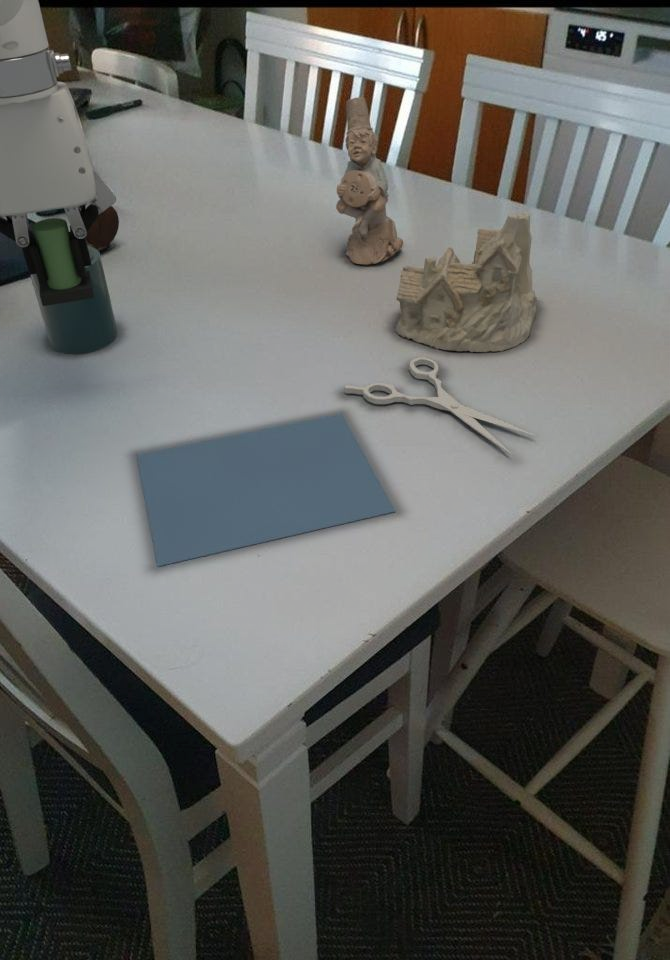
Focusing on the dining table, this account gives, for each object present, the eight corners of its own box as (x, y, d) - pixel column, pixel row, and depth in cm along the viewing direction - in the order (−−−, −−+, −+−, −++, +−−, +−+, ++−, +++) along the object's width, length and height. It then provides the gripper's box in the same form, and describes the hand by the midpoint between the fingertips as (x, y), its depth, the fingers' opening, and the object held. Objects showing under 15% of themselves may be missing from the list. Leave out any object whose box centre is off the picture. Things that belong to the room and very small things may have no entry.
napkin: (157, 567, 67) (157, 566, 67) (136, 455, 79) (136, 454, 79) (395, 512, 71) (395, 511, 71) (341, 414, 83) (341, 413, 83)
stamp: (42, 306, 80) (22, 236, 75) (42, 289, 83) (22, 220, 78) (94, 298, 81) (77, 228, 76) (91, 281, 84) (75, 213, 79)
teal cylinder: (51, 359, 94) (27, 278, 87) (49, 327, 100) (26, 249, 93) (120, 347, 96) (102, 266, 89) (114, 316, 102) (96, 239, 95)
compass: (89, 235, 122) (78, 187, 117) (126, 246, 118) (116, 197, 114) (47, 255, 117) (34, 205, 112) (85, 267, 113) (72, 216, 109)
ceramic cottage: (550, 299, 101) (558, 179, 91) (511, 368, 90) (515, 239, 80) (432, 285, 107) (429, 171, 97) (383, 348, 96) (373, 226, 87)
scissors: (411, 349, 91) (560, 420, 80) (411, 355, 92) (559, 426, 80) (343, 386, 86) (492, 468, 74) (343, 392, 86) (492, 474, 75)
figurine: (352, 238, 118) (349, 90, 105) (408, 245, 115) (412, 94, 103) (331, 264, 111) (325, 109, 99) (390, 271, 109) (391, 114, 96)
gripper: (103, 55, 73) (142, 248, 85) (-90, 75, 70) (-22, 273, 81) (111, 74, 67) (150, 278, 79) (-99, 97, 64) (-25, 306, 76)
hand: (62, 274), depth 80 cm, fingers closed on stamp, 3 cm apart
